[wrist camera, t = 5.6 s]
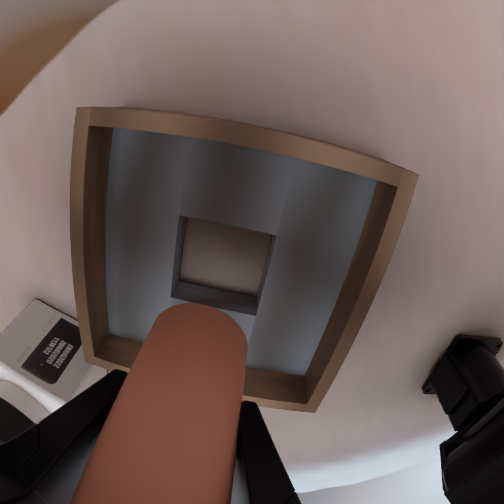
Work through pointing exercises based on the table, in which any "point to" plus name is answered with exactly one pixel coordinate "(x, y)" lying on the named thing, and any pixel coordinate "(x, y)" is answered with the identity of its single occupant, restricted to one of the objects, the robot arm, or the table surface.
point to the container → (40, 367)
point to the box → (234, 214)
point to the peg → (173, 416)
